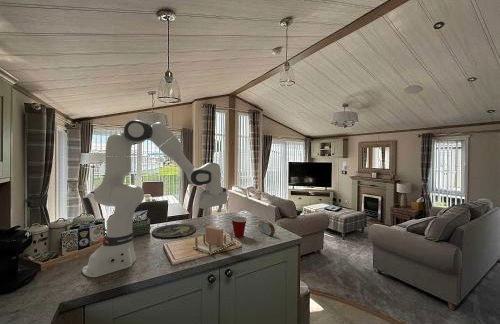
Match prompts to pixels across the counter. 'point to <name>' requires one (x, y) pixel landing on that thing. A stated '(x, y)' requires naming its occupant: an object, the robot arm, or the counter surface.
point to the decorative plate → (173, 231)
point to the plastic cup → (239, 225)
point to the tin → (266, 228)
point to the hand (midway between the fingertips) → (213, 213)
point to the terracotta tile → (214, 235)
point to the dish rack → (212, 247)
